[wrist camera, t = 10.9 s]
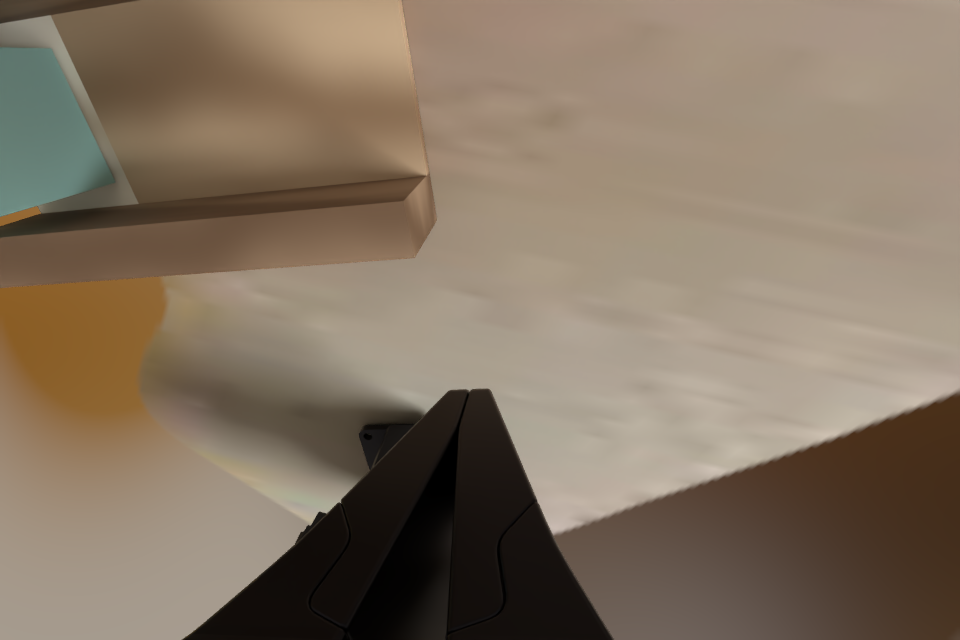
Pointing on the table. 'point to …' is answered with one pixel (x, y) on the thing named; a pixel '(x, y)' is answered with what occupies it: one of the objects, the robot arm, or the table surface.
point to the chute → (228, 138)
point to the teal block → (42, 134)
